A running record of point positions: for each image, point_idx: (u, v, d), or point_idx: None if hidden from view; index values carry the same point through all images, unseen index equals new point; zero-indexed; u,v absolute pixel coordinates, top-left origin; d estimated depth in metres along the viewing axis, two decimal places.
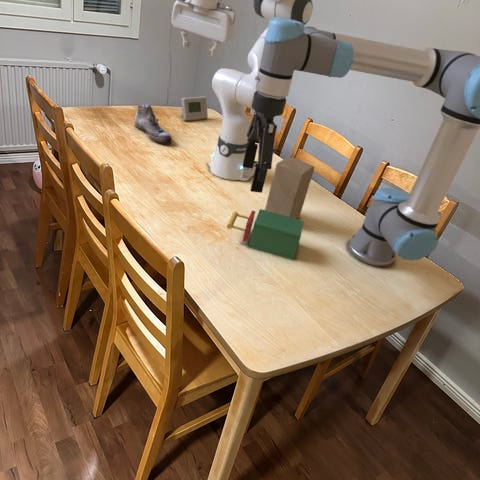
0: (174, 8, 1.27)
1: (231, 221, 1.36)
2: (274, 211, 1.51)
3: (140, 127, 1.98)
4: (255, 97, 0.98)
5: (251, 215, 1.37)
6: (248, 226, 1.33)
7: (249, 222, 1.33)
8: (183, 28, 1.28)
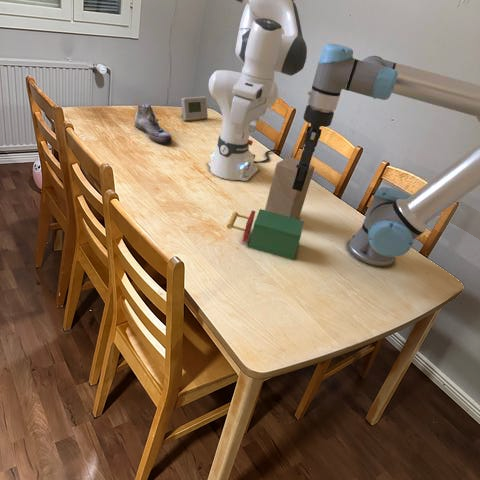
0: (248, 109, 1.13)
1: (231, 221, 1.36)
2: (274, 211, 1.51)
3: (140, 127, 1.98)
4: (306, 109, 1.16)
5: (251, 215, 1.37)
6: (248, 226, 1.33)
7: (249, 222, 1.33)
8: (248, 123, 1.19)
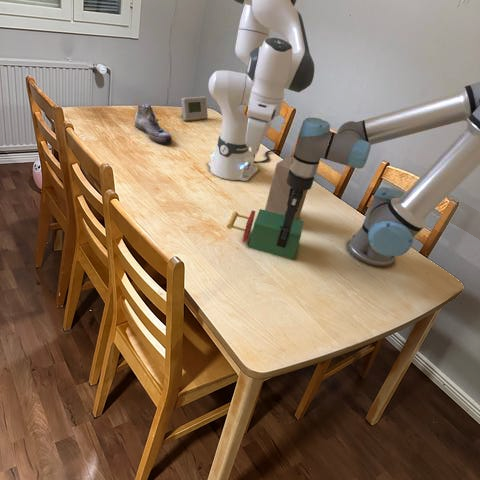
0: (264, 131, 1.13)
1: (231, 221, 1.36)
2: (274, 211, 1.51)
3: (140, 127, 1.98)
4: (288, 174, 1.26)
5: (251, 215, 1.37)
6: (248, 226, 1.33)
7: (249, 222, 1.33)
8: (261, 142, 1.18)
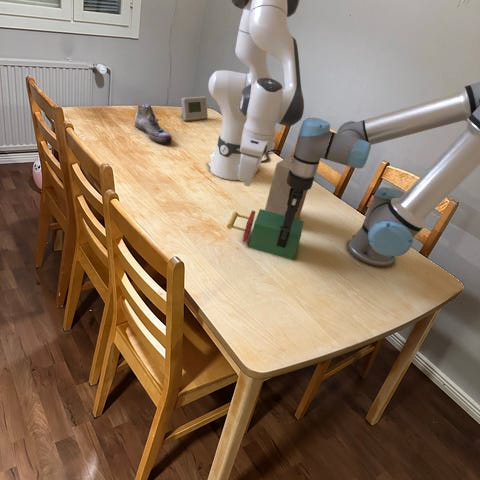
0: (256, 166, 1.18)
1: (231, 221, 1.36)
2: (274, 211, 1.51)
3: (140, 127, 1.98)
4: (288, 174, 1.26)
5: (251, 215, 1.37)
6: (248, 226, 1.33)
7: (249, 222, 1.33)
8: None
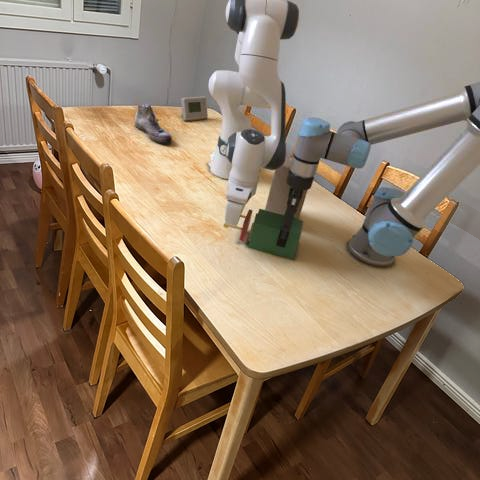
0: (241, 212, 1.26)
1: None
2: (274, 211, 1.51)
3: (140, 127, 1.98)
4: (288, 174, 1.26)
5: (248, 214, 1.37)
6: (245, 225, 1.33)
7: (246, 221, 1.33)
8: None
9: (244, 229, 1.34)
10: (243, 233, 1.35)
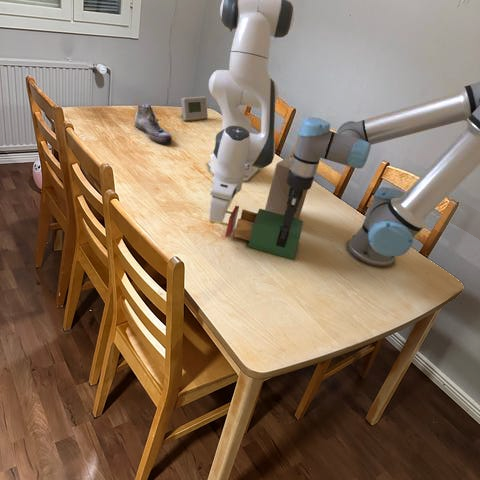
0: (226, 208, 1.26)
1: None
2: (274, 211, 1.51)
3: (140, 127, 1.98)
4: (288, 174, 1.26)
5: (234, 210, 1.37)
6: (231, 221, 1.33)
7: (232, 217, 1.33)
8: (224, 215, 1.32)
9: (230, 225, 1.34)
10: (229, 229, 1.35)
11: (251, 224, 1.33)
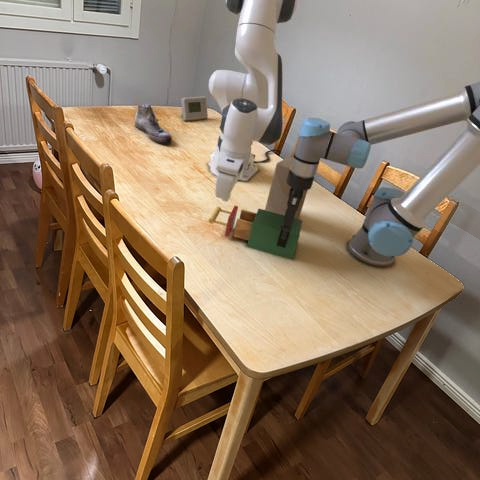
0: (232, 184, 1.22)
1: (213, 216, 1.36)
2: (274, 211, 1.51)
3: (140, 127, 1.98)
4: (288, 174, 1.26)
5: (233, 210, 1.38)
6: (230, 221, 1.34)
7: (231, 217, 1.34)
8: (230, 192, 1.28)
9: (229, 225, 1.34)
10: (228, 229, 1.35)
11: (250, 224, 1.34)
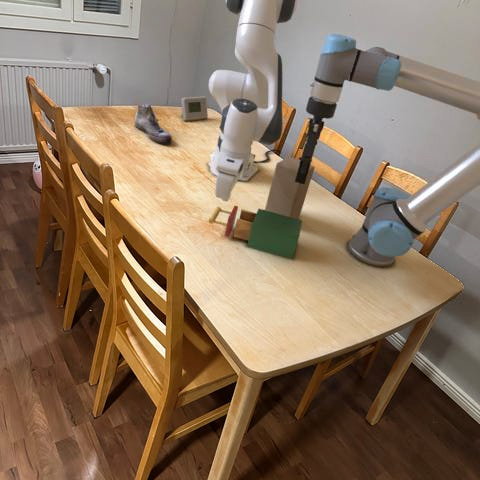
0: (232, 184, 1.22)
1: (213, 216, 1.36)
2: (274, 211, 1.51)
3: (140, 127, 1.98)
4: (308, 100, 1.14)
5: (233, 210, 1.38)
6: (230, 221, 1.34)
7: (231, 217, 1.34)
8: (230, 192, 1.28)
9: (229, 225, 1.34)
10: (228, 229, 1.35)
11: (250, 224, 1.34)
